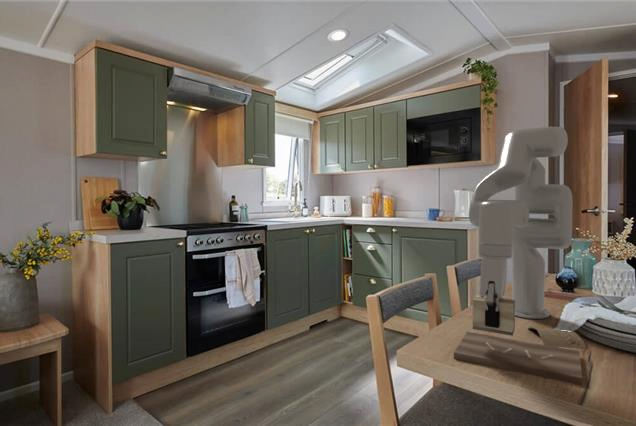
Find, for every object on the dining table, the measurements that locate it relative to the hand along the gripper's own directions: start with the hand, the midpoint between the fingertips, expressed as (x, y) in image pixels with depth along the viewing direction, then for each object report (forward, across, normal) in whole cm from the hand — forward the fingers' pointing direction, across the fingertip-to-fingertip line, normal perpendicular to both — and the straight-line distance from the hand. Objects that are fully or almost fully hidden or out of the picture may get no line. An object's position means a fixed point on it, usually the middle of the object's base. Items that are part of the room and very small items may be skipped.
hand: (493, 322), depth 96 cm
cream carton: (+2, 0, 0) cm, 2 cm away
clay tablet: (+8, -20, +13) cm, 25 cm away
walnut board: (+8, -1, +5) cm, 9 cm away
